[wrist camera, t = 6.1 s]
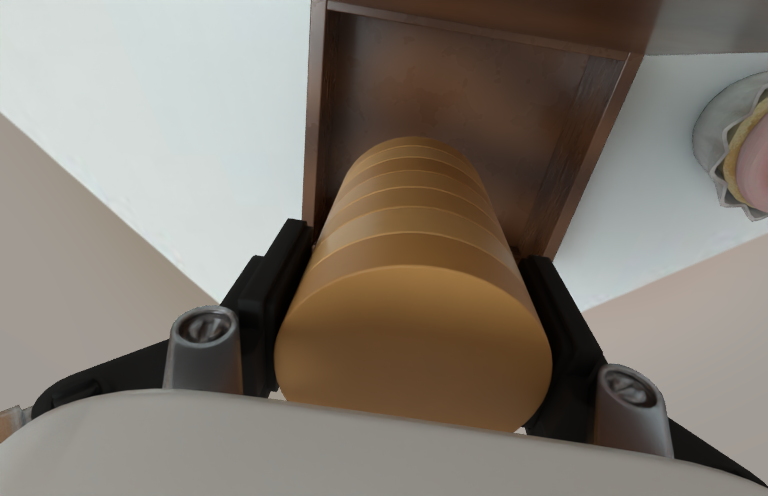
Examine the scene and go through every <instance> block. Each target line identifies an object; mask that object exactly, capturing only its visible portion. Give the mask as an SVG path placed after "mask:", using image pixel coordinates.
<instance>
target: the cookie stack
mask: <svg viewBox="0 0 768 496" xmlns="http://www.w3.org/2000/svg"><path fill="white" fill-rule="evenodd" d="M273 358H274V370H275V374H276V379H277V382H278V384H279V387H280V389H281V392H282V393H283V395H284V397H285V398H286V400H287V401H291V402H298V403H306V404H313V405H320V406H328V407H335V408H342V409H349V410H357V411H364V412H371V413H378V414H385V415H392V416H399V417H406V418H413V419H420V420H427V421H434V422H441V423H448V424H455V425H462V426H469V427H476V428H483V429H490V430H497V431H504V432H510V433H514V432H515V431H516V430H517V429H519V428H520V427H521V426H522V425H524V424H525V423H526V422H527V421H528V420H529V419H530V418H531V417H532V416H533V415H534V413H535V412H536V411H537V409H538V408H539V406H540V405H541V404H542V402H543V400H544V398H545V396H546V394H547V392H548V388H549V385H550V382H551V377H552V366H553V363H552V353H551V349H550V345H549V342H548V339H547V336H546V334H545V331H544V329H543V326H542V324H541V322H540V319H539V317H538V315H537V312H536V310H535V307H534V305H533V303H532V300H531V298H530V295H529V293H528V291H527V288H526V286H525V283H524V281H523V279H522V276H521V274H520V271H519V269H518V267H517V264H516V262H515V260H514V257H513V255H512V252H511V250H510V248H509V245H508V243H507V240H506V238H505V236H504V233H503V231H502V228H501V226H500V224H499V221H498V219H497V216H496V214H495V212H494V209H493V207H492V205H491V202H490V200H489V197H488V195H487V193H486V190H485V188H484V185H483V183H482V181H481V178H480V176H479V174H478V172H477V171H476V169H475V168H474V166H473V165H472V164H471V162H470V161H469V160H468V159H467V158H466V157H465V156H464V155H462V154H461V153H460V152H459V151H457V150H456V149H454V148H453V147H451V146H449V145H447V144H445V143H443V142H440V141H437V140H434V139H430V138H424V137H401V138H395V139H392V140H388V141H385V142H383V143H380V144H378V145H376V146H374V147H373V148H371V149H369V150H368V151H367V152H365V153H364V154H363V155H361V156H360V157H359V158H358V159H357V160H356V161H355V163H354V164H353V165H352V166H351V168H350V169H349V171H348V172H347V174H346V176H345V178H344V180H343V183H342V185H341V187H340V190H339V192H338V194H337V196H336V199H335V201H334V203H333V206H332V208H331V210H330V213H329V215H328V217H327V220H326V222H325V224H324V227H323V229H322V231H321V234H320V236H319V238H318V241H317V243H316V245H315V248H314V250H313V252H312V255H311V257H310V259H309V262H308V264H307V266H306V269H305V271H304V273H303V276H302V278H301V280H300V283H299V285H298V287H297V289H296V292H295V294H294V296H293V299H292V301H291V303H290V306H289V308H288V310H287V313H286V315H285V317H284V320H283V322H282V324H281V327H280V329H279V332H278V335H277V338H276V341H275V346H274V354H273Z"/></svg>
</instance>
